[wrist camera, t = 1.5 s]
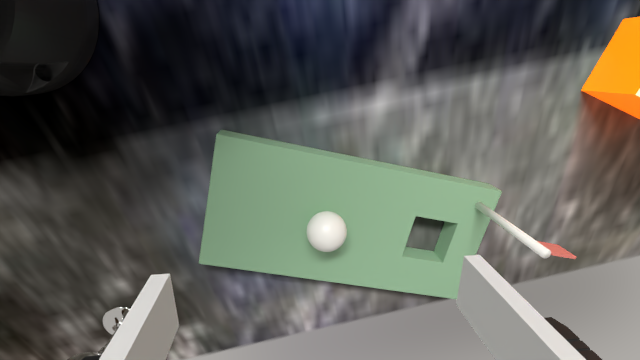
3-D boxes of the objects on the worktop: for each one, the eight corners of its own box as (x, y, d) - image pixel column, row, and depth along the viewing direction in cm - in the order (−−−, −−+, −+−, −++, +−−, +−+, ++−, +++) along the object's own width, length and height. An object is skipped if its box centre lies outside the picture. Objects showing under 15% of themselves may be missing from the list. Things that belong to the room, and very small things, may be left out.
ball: (301, 236, 35) (303, 256, 32) (309, 201, 34) (312, 218, 30) (338, 242, 36) (344, 262, 32) (347, 208, 35) (354, 225, 31)
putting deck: (204, 251, 38) (166, 335, 26) (221, 129, 34) (186, 163, 22) (454, 287, 43) (519, 372, 31) (496, 185, 38) (589, 237, 27)
